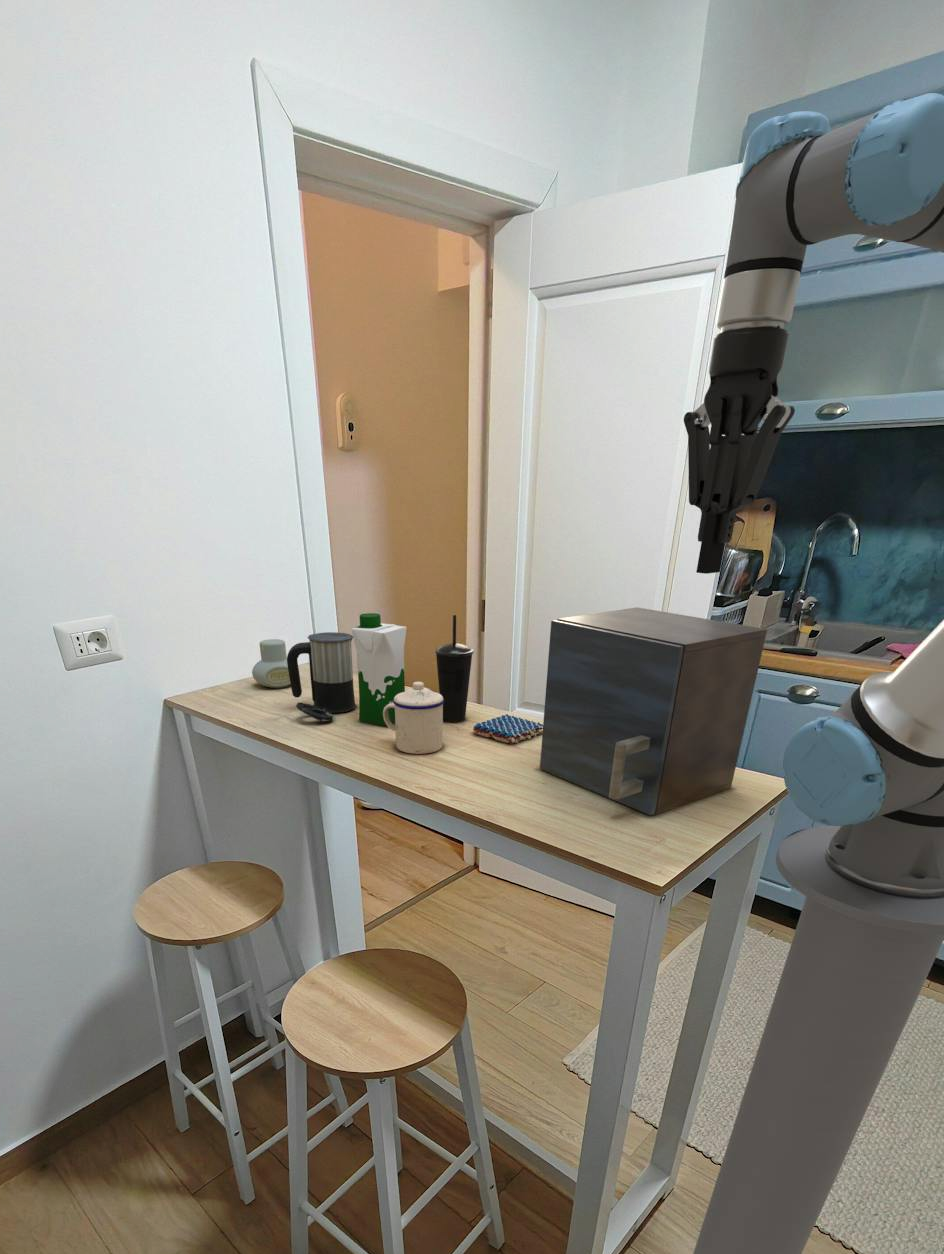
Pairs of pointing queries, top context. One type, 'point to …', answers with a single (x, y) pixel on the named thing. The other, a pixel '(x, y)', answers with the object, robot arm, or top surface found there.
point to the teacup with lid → (417, 720)
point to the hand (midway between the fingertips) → (708, 572)
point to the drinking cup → (454, 677)
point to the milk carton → (378, 666)
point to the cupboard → (697, 695)
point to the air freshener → (272, 665)
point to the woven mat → (508, 728)
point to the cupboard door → (609, 711)
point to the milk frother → (325, 674)
